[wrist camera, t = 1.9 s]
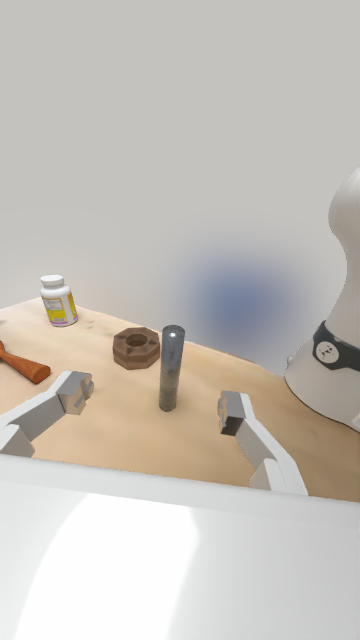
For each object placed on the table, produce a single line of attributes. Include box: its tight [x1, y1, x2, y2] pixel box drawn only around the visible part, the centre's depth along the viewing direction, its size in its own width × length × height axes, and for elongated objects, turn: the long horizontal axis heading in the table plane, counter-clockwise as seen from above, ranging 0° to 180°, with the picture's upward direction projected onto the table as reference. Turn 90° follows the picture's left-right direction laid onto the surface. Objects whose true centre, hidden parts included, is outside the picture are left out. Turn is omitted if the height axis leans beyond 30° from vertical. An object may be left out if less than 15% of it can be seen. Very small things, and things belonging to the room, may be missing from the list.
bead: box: [113, 327, 160, 370], centre depth 41 cm, size 10×10×4 cm
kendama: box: [0, 341, 51, 383], centre depth 35 cm, size 6×6×20 cm
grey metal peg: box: [159, 325, 185, 412], centre depth 28 cm, size 3×3×16 cm
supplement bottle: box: [40, 275, 78, 327], centre depth 47 cm, size 7×7×13 cm
